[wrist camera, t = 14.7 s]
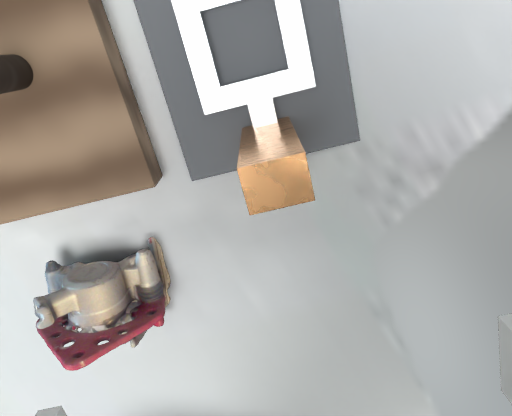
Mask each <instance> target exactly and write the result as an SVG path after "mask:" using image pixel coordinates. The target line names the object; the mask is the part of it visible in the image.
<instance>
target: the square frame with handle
mask: <svg viewBox="0 0 512 416" xmlns="http://www.w3.org/2000/svg"><path fill="white" fill-rule="evenodd" d="M171 1H172V4H173V7H174V11H175V14H176V18H177V21H178V25H179V28H180V31H181V35H182V38H183V42H184V45H185V49H186V52H187V55H188V59H189V62H190V66H191V69H192V72H193V76H194V79H195V83H196V86H197V90H198V93H199V96H200V100H201V103H202V107H203V110H204V113H205V115H206V114H210V113H214V112H218V111H222V110H226V109H230V108H234V107H237V106H241V105H245V104H248V108H249V112H250V116H251V120H252V124H253V125H252V126H248V127H244V128H242V132H241V140H240V148H239V155H238V163H237V171H238V175H239V179H240V182H241V186H242V189H243V193H244V197H245V200H246V204H247V208H248V211H249V215H254V214H258V213H262V212H267V211H271V210H275V209H280V208H284V207H288V206H292V205H297V204H301V203H305V202H310V201H314V200H315V197H314V192H313V187H312V182H311V178H310V173H309V168H308V163H307V158H306V154H305V151H304V148H303V146H302V144H301V142H300V140H299V138H298V136H297V134H296V131H295V129H294V127H293V125H292V123H291V121H290V119H289V116H288V117H284V118H280V119H277V117H276V113H275V108H274V104H273V99H272V98H273V97H277V96H280V95H284V94H288V93H292V92H296V91H300V90H304V89H308V88H312V87H316V84H315V79H314V74H313V68H312V63H311V58H310V52H309V47H308V42H307V36H306V31H305V26H304V20H303V15H302V10H301V4H300V0H274V5H275V10H276V15H277V20H278V24H279V29H280V34H281V39H282V43H283V48H284V53H285V58H286V63H287V67H288V68H286V69H282V70H278V71H274V72H270V73H267V74H263V75H259V76H255V77H251V78H248V79H244V80H240V81H236V82H232V83H228V84H225V85H221V82H220V78H219V75H218V71H217V67H216V63H215V60H214V56H213V52H212V49H211V45H210V41H209V38H208V34H207V30H206V26H205V23H204V19H203V15H202V12H206V11H209V10H213V9H217V8H220V7H224V6H227V5H231V4H235V3H238V2H242V1H245V0H171Z"/></svg>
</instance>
